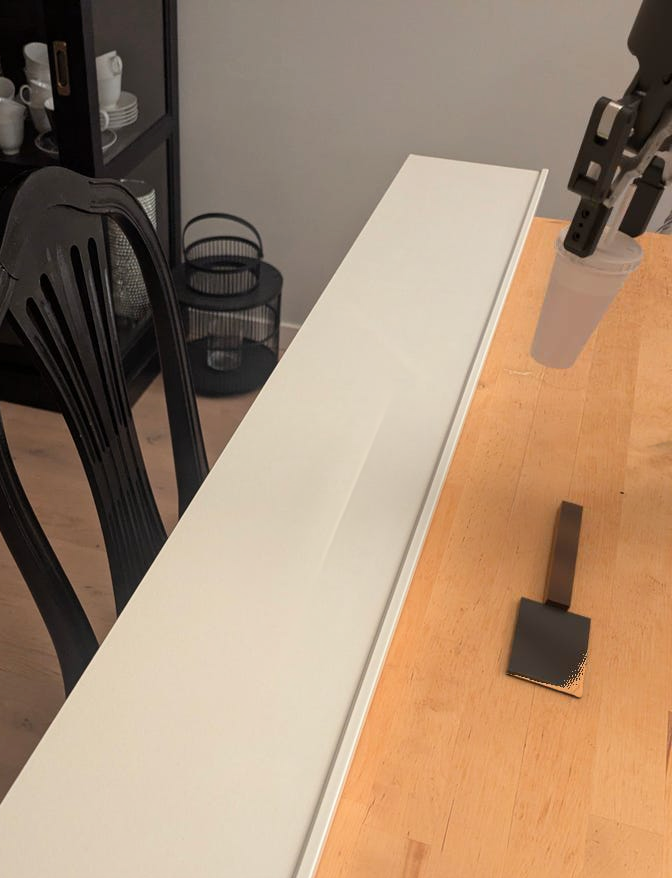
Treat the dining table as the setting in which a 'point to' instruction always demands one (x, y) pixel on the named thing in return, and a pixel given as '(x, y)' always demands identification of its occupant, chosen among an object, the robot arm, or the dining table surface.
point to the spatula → (553, 614)
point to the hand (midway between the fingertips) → (602, 242)
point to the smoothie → (583, 292)
